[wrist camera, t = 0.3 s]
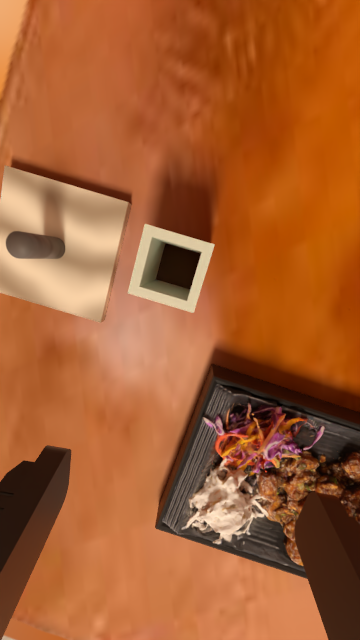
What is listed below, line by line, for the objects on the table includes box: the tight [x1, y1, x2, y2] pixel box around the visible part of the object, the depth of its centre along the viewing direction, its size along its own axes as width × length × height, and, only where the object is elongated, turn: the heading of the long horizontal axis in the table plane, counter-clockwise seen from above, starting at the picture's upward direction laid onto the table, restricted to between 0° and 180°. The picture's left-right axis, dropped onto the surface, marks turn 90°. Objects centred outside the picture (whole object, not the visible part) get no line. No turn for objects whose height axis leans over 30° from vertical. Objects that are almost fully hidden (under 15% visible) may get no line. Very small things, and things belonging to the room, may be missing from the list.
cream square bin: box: [128, 224, 215, 313], centre depth 30 cm, size 6×6×10 cm
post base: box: [0, 166, 131, 323], centre depth 31 cm, size 15×15×8 cm
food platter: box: [155, 364, 360, 579], centre depth 36 cm, size 45×25×10 cm, turn 72°
